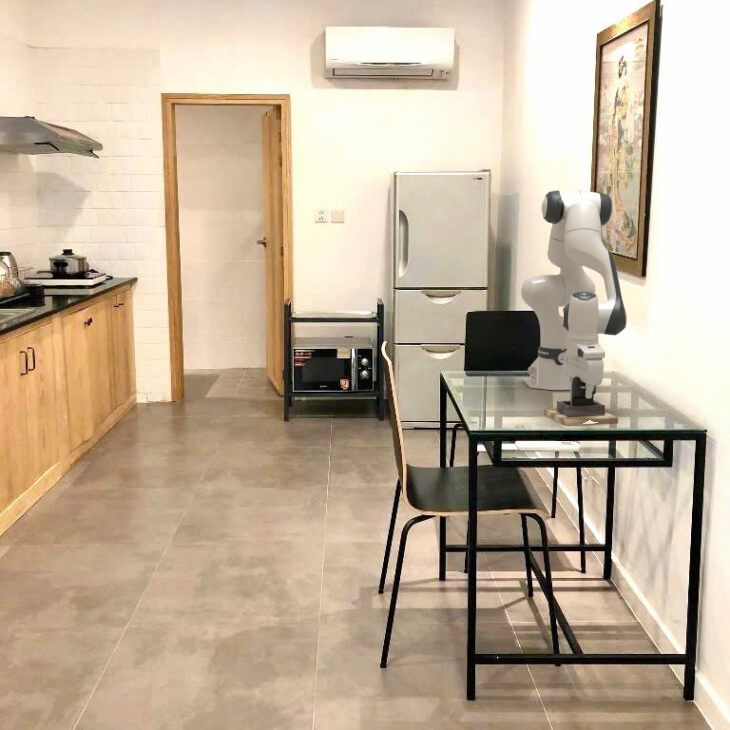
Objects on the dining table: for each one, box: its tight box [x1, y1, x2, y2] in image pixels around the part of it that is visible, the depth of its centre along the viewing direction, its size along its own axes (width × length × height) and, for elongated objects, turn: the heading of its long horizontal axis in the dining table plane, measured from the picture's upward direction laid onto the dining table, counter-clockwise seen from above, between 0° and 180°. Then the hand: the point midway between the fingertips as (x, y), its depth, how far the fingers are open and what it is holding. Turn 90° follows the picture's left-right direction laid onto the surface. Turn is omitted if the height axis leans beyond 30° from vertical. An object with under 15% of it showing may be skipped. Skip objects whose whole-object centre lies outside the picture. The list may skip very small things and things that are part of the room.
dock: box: [543, 399, 619, 427], centre depth 266 cm, size 16×16×4 cm
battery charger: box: [569, 376, 597, 406], centre depth 264 cm, size 7×4×11 cm, turn 101°
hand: (580, 394), depth 266 cm, fingers open, 8 cm apart
